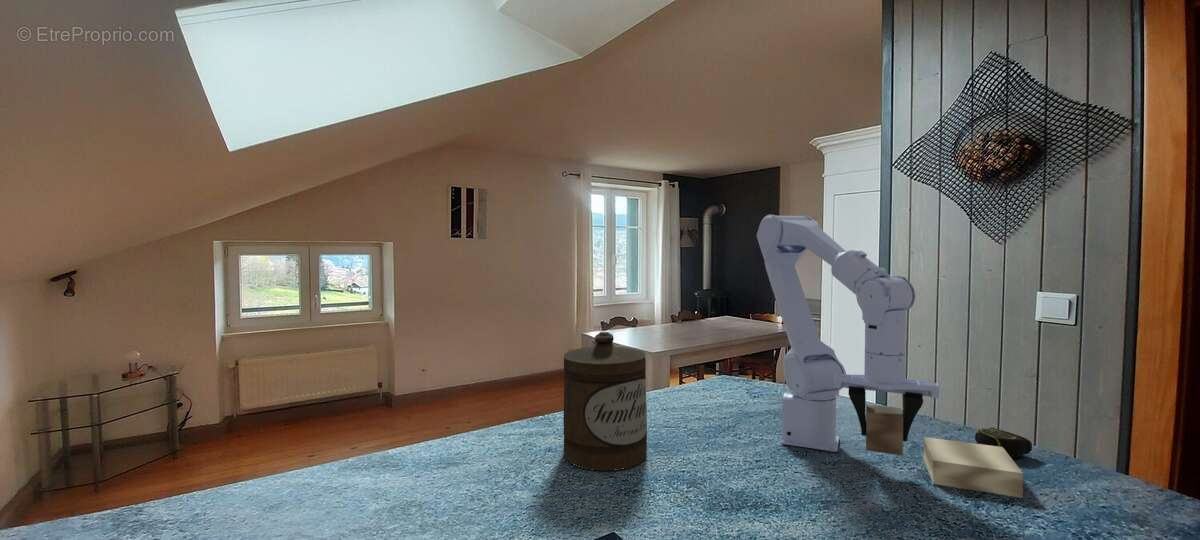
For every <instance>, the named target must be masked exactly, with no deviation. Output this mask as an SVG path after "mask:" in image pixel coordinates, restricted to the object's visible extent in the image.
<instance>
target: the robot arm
mask: <svg viewBox="0 0 1200 540" xmlns="http://www.w3.org/2000/svg"><path fill="white" fill-rule="evenodd" d="M756 238H757V242H758V244H759V248H760V251H761V254H762V257H763V260H764V266H765V267H764V268H765V270H766V273H767V276H768V280H769V283H770V286H771V290H772V292H773V295H774V298H775V301H776V305H777V307H778V310H779V313H780V314H779V315H780V317H781V320H782V323H783V327H784V329H785V332H786V336H787V339H788V343H789V344H790V349H789V350H788V351H787V352H786V354H785V355H784V356H783V358H782V364H783V367H784V380H785V384H786V386H787V388H788V390H789V392H786V391H785V392H784V393H783V396H782V402H781V403H782V405H781V444H782V445H788V446H793V447H799V448H800V447H802V448H808V449H813V450H814V449H815V450H819V451H820V450H821V451H827V452H834V453H837V452H838V450H839V449H838V448H839V442H840V441H839V440H840V436H839V435H838V434H837V397H840V391H841V390H842V389H843V388H844V389H848V396H849V399H850V401H851V403H852V405H853V407H854V410H855V412H856V415H857V419H858V421H859V422H858V423H859V426H860V432H861V436H863V437H866V400H867V398H866V396H867V395H866V391H873V392H874V391H875V392H881V393H882V392H884V393H892V394H902V395H901V396H902V414H903V442H908V438H909V433H910V429H911V426H912V424H913V422H914V420H915V417H916V416H917V414H918V412H919V411H920V410H921V408H922V406H923V405H924V399H923V397H929V398H932V399H940V385H939V383H937V382H928V381H923V380H922V381H921V380H915V379H910V378H906V355H907V354H906V352H907V351H906V350H907V345H906V344H907V311H909V310H910V309H911V308H912V307H913V305H914V303H915V302H916V290H915V287H914V286H913V284H912V283H911V282H910V281H909V280H908V279H907V277H905V276H901V275H893V276H892V275H891V274H889V273H888V270H887V269H886V268H884V267H879V266H878V265H877V264H876V263H874V262H873V261H871V260H870V259H868V257H867V256H868V254H867V253H866V252H865V251H864V250H854V249H853V250H852V249H850V250H847V251H846V250H845V249H844V248H843V247H842V246H841V245H840V244H838V243H837V242H836V241H835V240H834V238H832V237H831V236H829V235H828V234H827V233H826V232H825V231H824V230H823V229H821V228H820V224H819V221H816V220H815V219H813V218H812V217H810V216H809V215H775V214H767V215H765V216H764V217H763V218H762V220H760V223H759V226H758V230H757V233H756ZM807 251H810V252H812V254H814V255H815V256H817V257H818V258H819V259H821V260H822V261H824V262H826V263H827V264H828V265H830V266H831V269H830V270H831V275H832V276H833V277H834V278H835V279H836V280H837V281H838V282H840V283H841V284H842V285H844V287H846V288H847V289H848V290H849V291H851V293H853V294H854V295H855V296H856V301H857V305H858V306H859V308H860V310H861V312H862V313H861V314H862V316H861V317H862V319H861V320H863V323H864V370H863V371H864V374H847V372H846V370H845V367H844V365H843V364H842V362H841V361H840V360H839V359H838V357H837V355H836V353H835V350H834V349H833V348H832V347H830V345H827V344H825V343H824V342H823V341H822V340H821V339H820V335H819V332H818V330H817V326H816V325H815V322H814V318H813V315H812V313H811V309H810V307H809V304H808V302H807V301H808V300H807V297H806V295H805V292H804V290H803V286H802V283H801V281H800V278H799V274H798V271H797V269H796V264H797V262H799V261H800V260H801V259H802V258H803V256H804V255H805V254H806V252H807Z"/></svg>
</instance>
